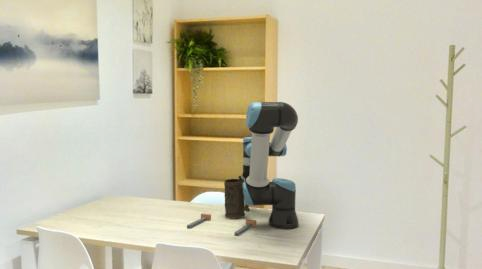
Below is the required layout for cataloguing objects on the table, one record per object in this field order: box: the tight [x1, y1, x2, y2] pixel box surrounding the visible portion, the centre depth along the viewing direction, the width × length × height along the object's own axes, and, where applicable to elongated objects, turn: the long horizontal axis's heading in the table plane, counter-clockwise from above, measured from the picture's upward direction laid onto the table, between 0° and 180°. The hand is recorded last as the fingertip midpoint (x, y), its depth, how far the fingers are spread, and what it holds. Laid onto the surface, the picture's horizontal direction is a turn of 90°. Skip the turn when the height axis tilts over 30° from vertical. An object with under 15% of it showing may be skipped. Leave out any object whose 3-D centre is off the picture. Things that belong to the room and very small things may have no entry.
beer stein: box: [223, 178, 250, 219], centre depth 238 cm, size 15×11×20 cm
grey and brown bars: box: [186, 212, 257, 237], centre depth 221 cm, size 31×18×3 cm, turn 65°
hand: (249, 205), depth 252 cm, fingers closed
